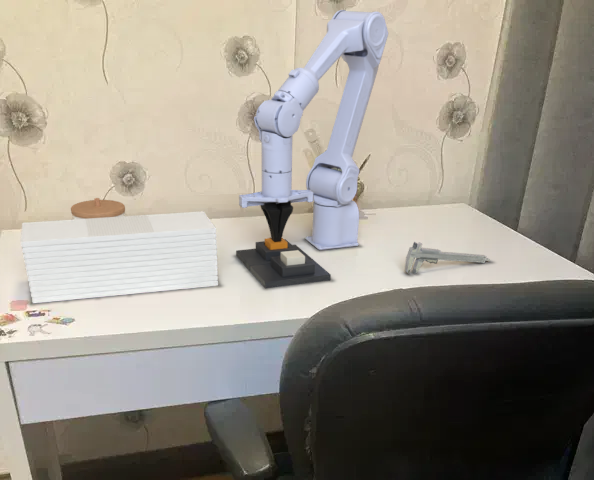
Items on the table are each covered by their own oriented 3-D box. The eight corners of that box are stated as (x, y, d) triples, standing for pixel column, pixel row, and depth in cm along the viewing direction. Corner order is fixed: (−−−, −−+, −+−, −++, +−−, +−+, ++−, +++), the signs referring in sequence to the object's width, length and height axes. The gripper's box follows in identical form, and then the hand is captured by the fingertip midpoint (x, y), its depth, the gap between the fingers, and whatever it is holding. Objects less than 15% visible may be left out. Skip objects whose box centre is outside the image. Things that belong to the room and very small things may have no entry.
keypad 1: (295, 249, 139) (295, 235, 137) (311, 264, 132) (312, 249, 130) (236, 256, 135) (235, 241, 133) (249, 271, 127) (249, 256, 126)
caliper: (407, 275, 128) (410, 244, 125) (404, 273, 129) (407, 242, 125) (490, 262, 136) (495, 232, 132) (486, 260, 136) (492, 230, 133)
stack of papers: (32, 303, 112) (20, 241, 106) (33, 280, 120) (22, 222, 115) (218, 285, 121) (215, 227, 115) (206, 265, 129) (203, 211, 124)
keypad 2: (312, 264, 132) (312, 250, 130) (330, 280, 124) (331, 265, 123) (250, 271, 127) (250, 256, 126) (265, 288, 120) (265, 272, 119)
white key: (297, 258, 127) (298, 250, 126) (304, 265, 124) (305, 256, 123) (280, 260, 126) (280, 251, 125) (287, 267, 123) (287, 258, 122)
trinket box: (65, 247, 136) (57, 201, 132) (97, 232, 145) (91, 189, 140) (108, 254, 133) (102, 208, 128) (138, 239, 142) (134, 195, 137)
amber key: (281, 245, 134) (281, 236, 133) (287, 250, 131) (287, 242, 130) (264, 246, 133) (264, 238, 132) (270, 252, 130) (270, 244, 129)
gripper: (246, 177, 119) (247, 250, 126) (320, 172, 123) (317, 243, 130) (235, 168, 124) (236, 239, 131) (306, 164, 129) (304, 232, 136)
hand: (276, 240), depth 131 cm, fingers closed, pressing on amber key
